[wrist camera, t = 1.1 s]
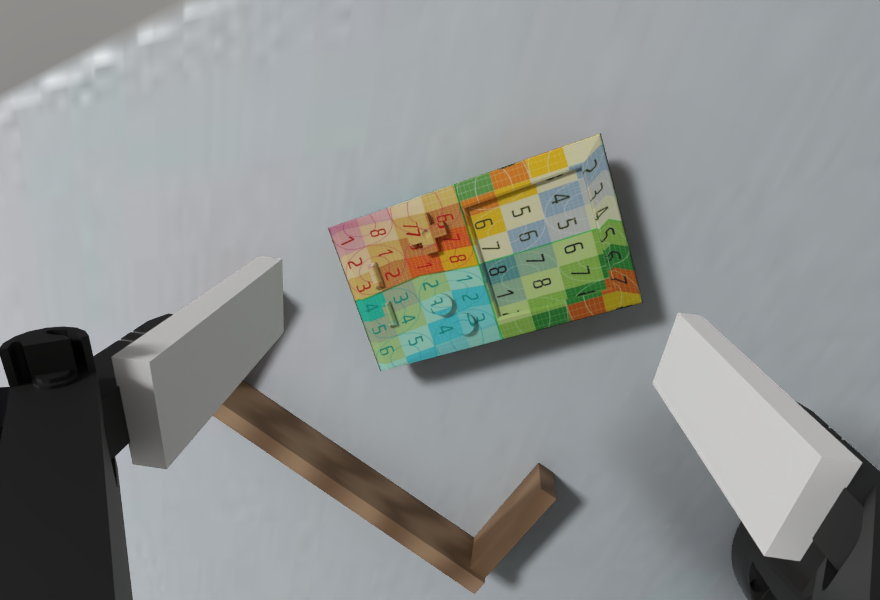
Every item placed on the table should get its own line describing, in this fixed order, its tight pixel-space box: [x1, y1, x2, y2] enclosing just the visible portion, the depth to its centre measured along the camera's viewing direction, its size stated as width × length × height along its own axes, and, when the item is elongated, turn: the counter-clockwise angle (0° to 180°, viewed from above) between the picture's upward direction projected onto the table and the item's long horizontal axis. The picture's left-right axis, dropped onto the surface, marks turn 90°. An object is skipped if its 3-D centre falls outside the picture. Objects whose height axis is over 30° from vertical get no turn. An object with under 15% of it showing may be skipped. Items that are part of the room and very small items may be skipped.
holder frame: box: [213, 381, 557, 594], centre depth 39 cm, size 31×12×4 cm, turn 57°
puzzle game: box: [328, 133, 643, 371], centre depth 34 cm, size 12×5×20 cm
